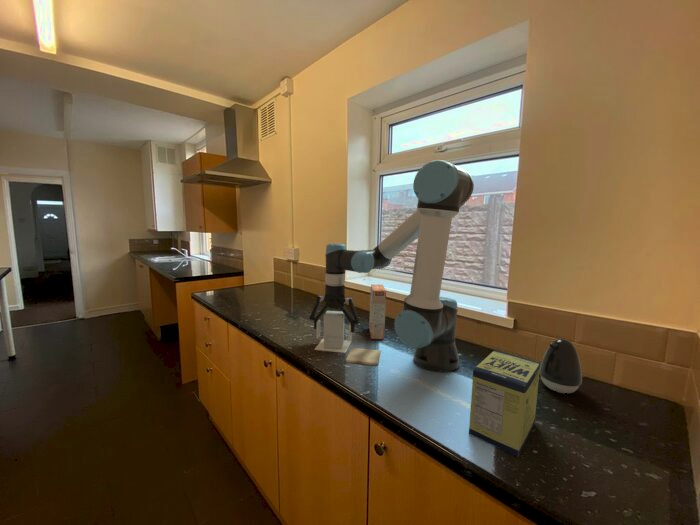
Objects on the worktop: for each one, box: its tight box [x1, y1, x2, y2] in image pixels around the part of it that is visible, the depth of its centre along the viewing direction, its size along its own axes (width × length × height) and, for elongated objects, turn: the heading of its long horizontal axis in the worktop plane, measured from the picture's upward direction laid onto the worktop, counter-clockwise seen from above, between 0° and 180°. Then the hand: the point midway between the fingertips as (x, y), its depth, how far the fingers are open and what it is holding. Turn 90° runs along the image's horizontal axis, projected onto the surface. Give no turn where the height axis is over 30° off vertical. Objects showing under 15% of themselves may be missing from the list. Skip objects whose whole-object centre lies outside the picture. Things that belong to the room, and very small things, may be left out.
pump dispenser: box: [539, 338, 583, 394], centre depth 88 cm, size 10×10×15 cm
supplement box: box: [322, 310, 345, 348], centre depth 116 cm, size 7×7×13 cm
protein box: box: [468, 349, 541, 458], centre depth 69 cm, size 10×16×16 cm
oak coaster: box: [345, 347, 382, 366], centre depth 107 cm, size 11×11×1 cm
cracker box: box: [368, 284, 387, 340], centre depth 130 cm, size 14×6×21 cm, turn 179°
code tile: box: [314, 337, 353, 354], centre depth 117 cm, size 12×12×1 cm
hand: (333, 338), depth 117 cm, fingers open, 12 cm apart
